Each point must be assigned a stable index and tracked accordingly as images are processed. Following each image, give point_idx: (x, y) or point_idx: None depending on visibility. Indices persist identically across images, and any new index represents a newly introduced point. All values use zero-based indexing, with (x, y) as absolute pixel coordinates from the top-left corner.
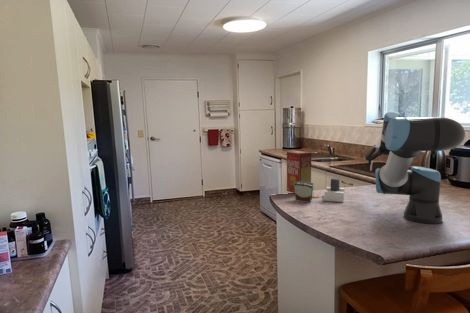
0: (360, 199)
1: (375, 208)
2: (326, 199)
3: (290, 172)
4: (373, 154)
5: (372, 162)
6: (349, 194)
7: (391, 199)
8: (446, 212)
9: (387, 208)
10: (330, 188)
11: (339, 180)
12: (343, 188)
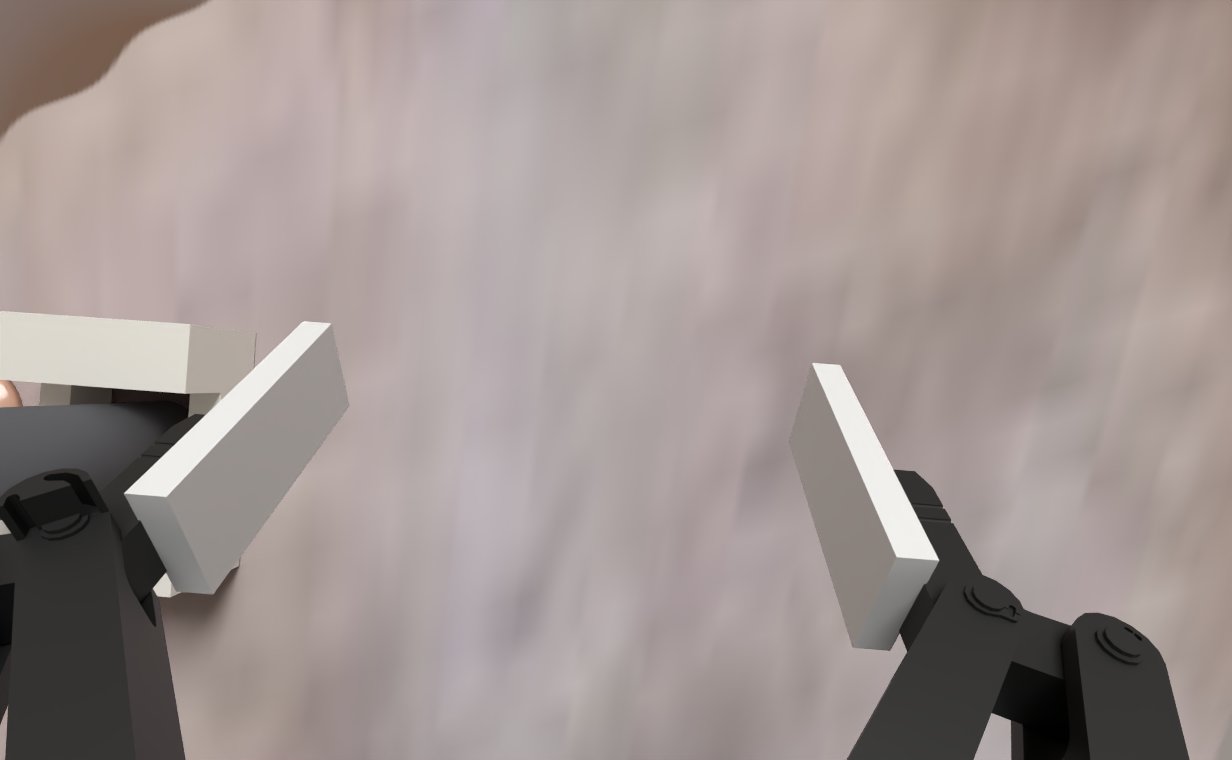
0: (400, 417)
1: (502, 708)
2: None
3: None
4: (10, 682)
5: (220, 583)
6: (308, 237)
7: (692, 337)
8: None
9: (605, 682)
10: (39, 381)
11: (5, 487)
12: (175, 360)
